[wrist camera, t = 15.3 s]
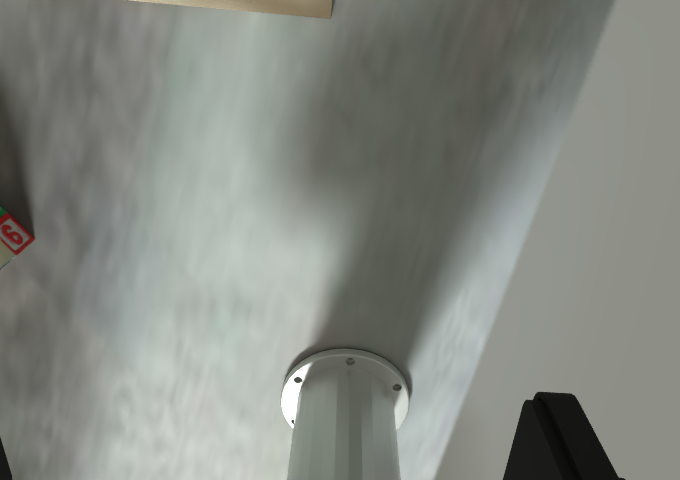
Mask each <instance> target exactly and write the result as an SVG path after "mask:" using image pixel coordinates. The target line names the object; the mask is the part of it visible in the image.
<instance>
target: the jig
mask: <svg viewBox="0 0 680 480" xmlns="http://www.w3.org/2000/svg"><path fill="white" fill-rule="evenodd" d="M130 1H141V2H152V3H163V4H174V5H186V6H197V7H208V8H219V9H230V10H241V11H252V12H263V13H274V14H285V15H296V16H307V17H318V18H329V19H331V14H332V0H130Z"/></svg>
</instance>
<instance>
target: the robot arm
mask: <svg viewBox="0 0 680 480" xmlns="http://www.w3.org/2000/svg"><path fill="white" fill-rule="evenodd" d="M281 406H282V411H283V414H284V416H285V418H286V420H287V422H288V423H289V424H290V426H291V427H292V428H293V435H292V443H291V451H290V459H289V467H288V475H287V480H401V478H400V467H399V456H398V445H397V434H396V431H397V430H398V429H399V428H400V427H401V425H402V424H403V422H404V420H405V419H406V417H407V414H408V410H409V392H408V388H407V385H406V382H405V380H404V378H403V376H402V375H401V373H400V372H399V371H398V370H397V369H396V368H395V367H394V366H393V365H392V364H391V363H389V362H388V361H387V360H385V359H384V358H382V357H379V356H377V355H375V354H373V353H370V352H366V351H362V350H356V349H332V350H327V351H322V352H319V353H317V354H314V355H311V356H309V357H308V358H306V359H304V360H302V361H301V362H300V363H299V364H297V365H296V366H295V367H294V368H293V369H292V370H291V372H290V373H289V374H288V376H287V378H286V380H285V382H284V384H283V389H282V394H281ZM0 480H12V475H11V471H10V468H9V465H8V461H7V458H6V455H5V451H4V448H3V445H2V441H1V438H0ZM503 480H625V479H624V478H619V477H618V476H617V474H616V472H615V470H614V468H613V466H612V464H611V462H610V461H609V459H608V457H607V455H606V453H605V451H604V449H603V447H602V445H601V443H600V442H599V440H598V438H597V436H596V434H595V432H594V430H593V428H592V426H591V424H590V423H589V421H588V419H587V417H586V415H585V413H584V411H583V410H582V408H581V405H580V404H579V402H578V400H577V398H576V397H575V396H574V395H572V394H568V393H550V392H537V393H536V394H535V396H534V399H533V400H526V401H525V402H524V404H523V407H522V411H521V415H520V418H519V422H518V425H517V429H516V433H515V437H514V440H513V444H512V448H511V451H510V455H509V459H508V463H507V466H506V470H505V474H504V478H503Z"/></svg>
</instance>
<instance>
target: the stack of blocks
mask: <svg viewBox="0 0 680 480" xmlns="http://www.w3.org/2000/svg"><path fill="white" fill-rule="evenodd" d="M33 241H34V238H33V237H32V236H31V235H30V234H29V233H28V232H27V231H26V230H25V229H24V228H23V227H22V226H21V225H20V224H19V223H18V222H17V221H16V220H15V219H14V218H13V217H12V216H11V215H10V214H9V213H7V212H6V211H5V210H4V209H3V208H2V207H1V206H0V269H1V268H2V267H3V266H5V265H6V264H7V263H8V262H9V261H11V260H12V259H13V258H15V257H16V256H17V255H19V254H20V253H21V252H22V251H23V250H24V249H25V248H26V247H27V246H28V245H29V244H31V243H32V242H33Z"/></svg>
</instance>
